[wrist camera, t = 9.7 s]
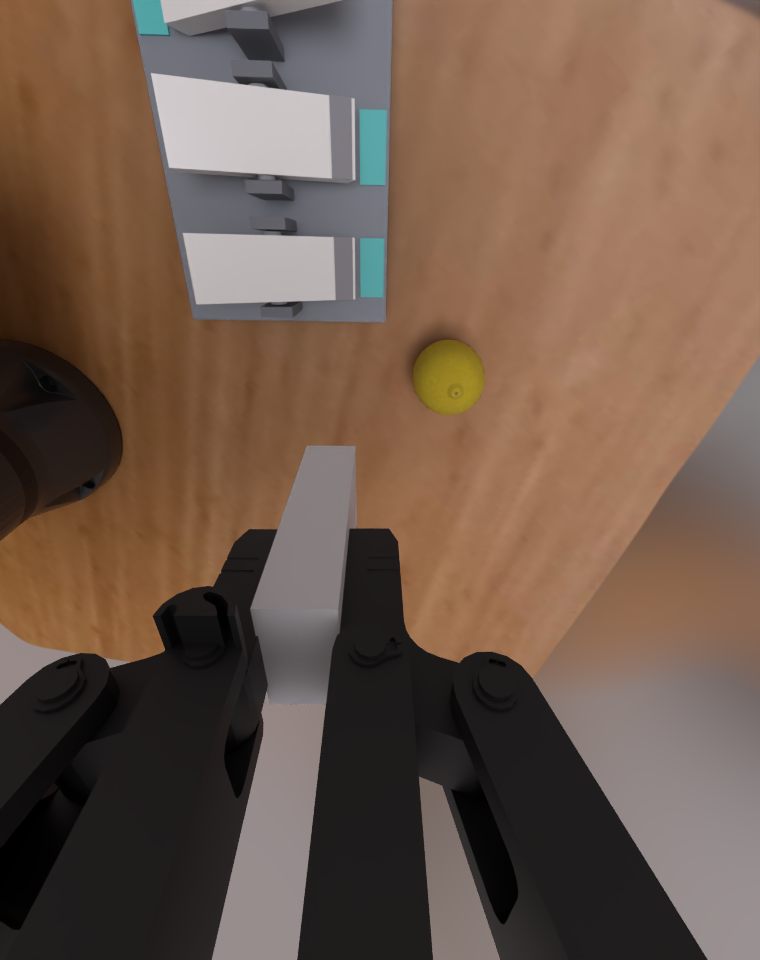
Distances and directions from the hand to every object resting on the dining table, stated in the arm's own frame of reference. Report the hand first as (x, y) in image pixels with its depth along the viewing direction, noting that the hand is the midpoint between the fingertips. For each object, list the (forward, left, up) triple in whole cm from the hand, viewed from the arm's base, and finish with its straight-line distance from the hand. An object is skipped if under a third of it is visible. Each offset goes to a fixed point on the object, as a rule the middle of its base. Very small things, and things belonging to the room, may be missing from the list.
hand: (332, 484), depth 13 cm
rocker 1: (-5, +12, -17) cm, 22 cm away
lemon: (+7, -2, -25) cm, 26 cm away
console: (-5, +12, -24) cm, 28 cm away
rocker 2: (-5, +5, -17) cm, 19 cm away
